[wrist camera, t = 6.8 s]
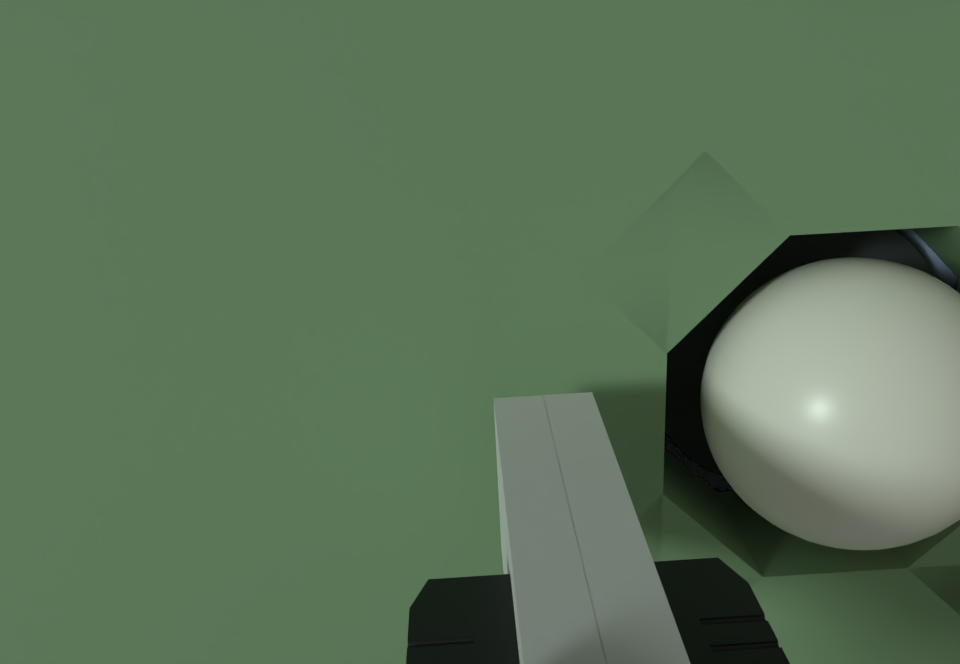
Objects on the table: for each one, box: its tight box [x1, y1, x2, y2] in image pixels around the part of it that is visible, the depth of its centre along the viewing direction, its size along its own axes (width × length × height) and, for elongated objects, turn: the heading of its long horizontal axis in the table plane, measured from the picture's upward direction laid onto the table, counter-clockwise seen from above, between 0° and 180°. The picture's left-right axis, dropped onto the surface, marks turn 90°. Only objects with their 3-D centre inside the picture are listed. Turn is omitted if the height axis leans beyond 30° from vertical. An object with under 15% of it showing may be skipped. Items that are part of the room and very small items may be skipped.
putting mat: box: [0, 0, 960, 664], centre depth 16 cm, size 16×24×3 cm, turn 93°
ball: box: [700, 257, 960, 550], centre depth 15 cm, size 5×5×5 cm
